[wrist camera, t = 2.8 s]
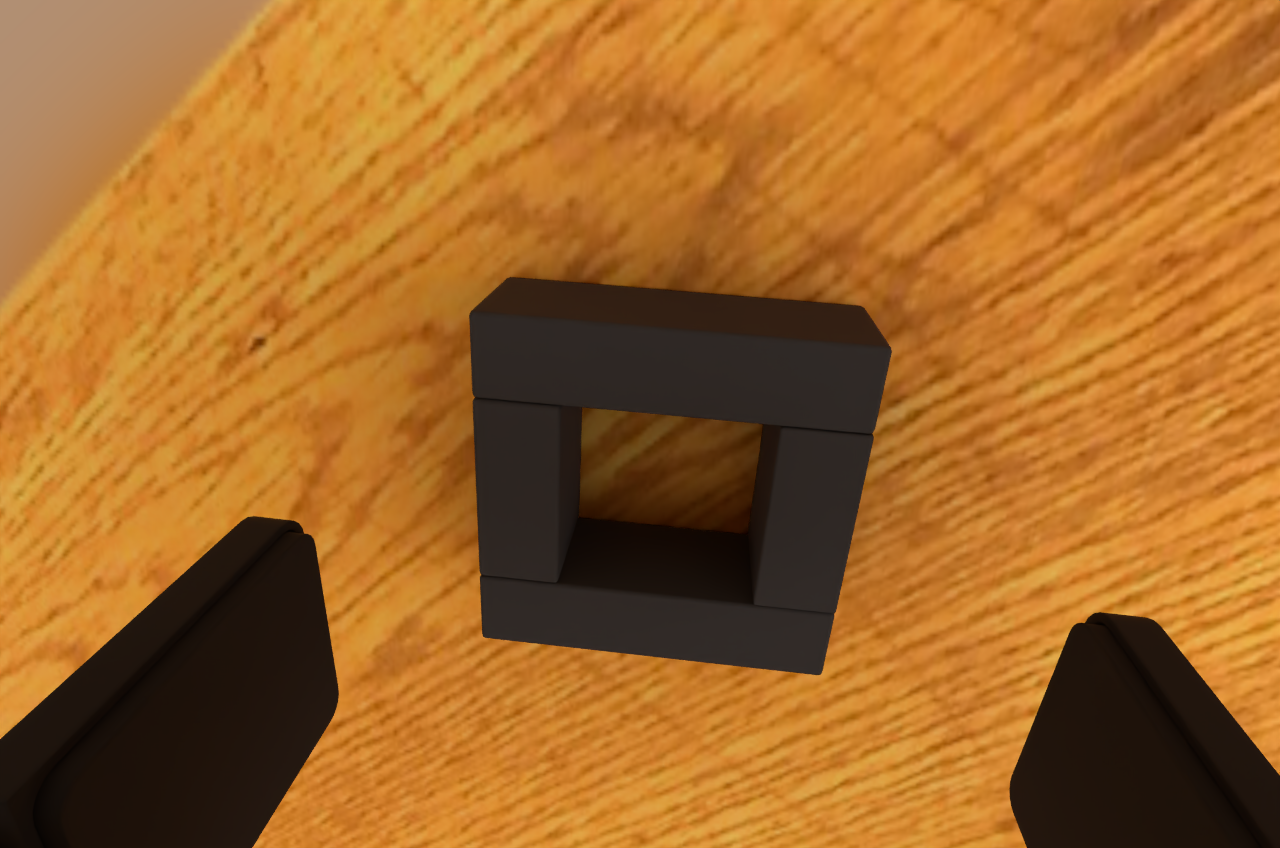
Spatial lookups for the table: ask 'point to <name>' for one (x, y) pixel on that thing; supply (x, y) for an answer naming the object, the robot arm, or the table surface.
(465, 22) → the table surface
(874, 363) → the black square frame
